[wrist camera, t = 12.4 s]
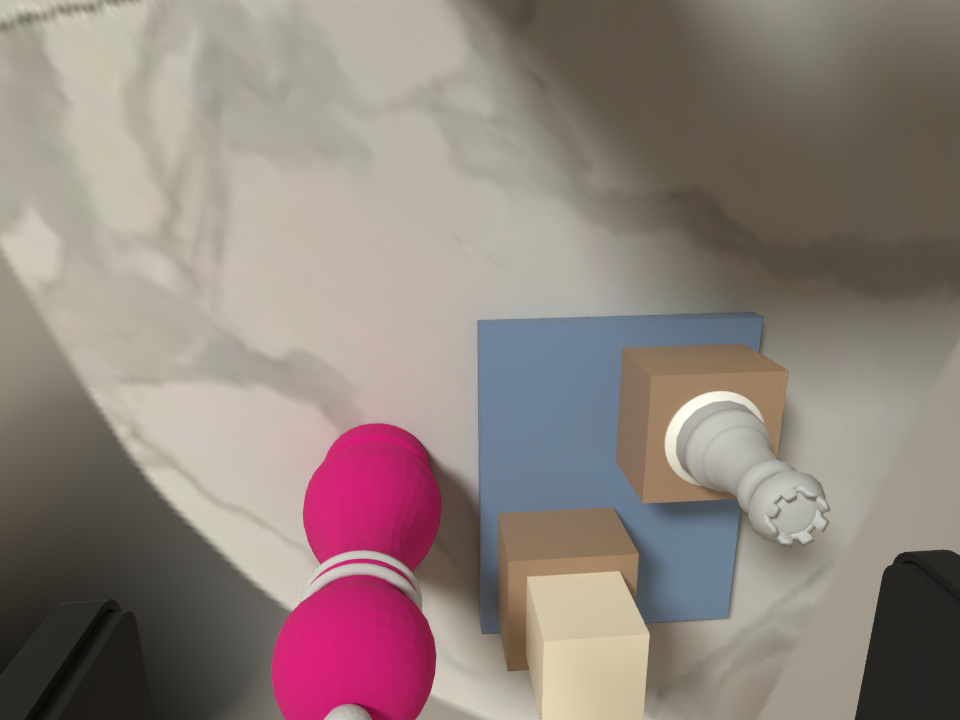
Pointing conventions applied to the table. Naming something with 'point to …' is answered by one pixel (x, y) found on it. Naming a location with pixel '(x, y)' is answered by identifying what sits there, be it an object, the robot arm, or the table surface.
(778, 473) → the rook chess piece
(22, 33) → the table surface
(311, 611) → the pepper mill
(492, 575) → the blue and tan platform
